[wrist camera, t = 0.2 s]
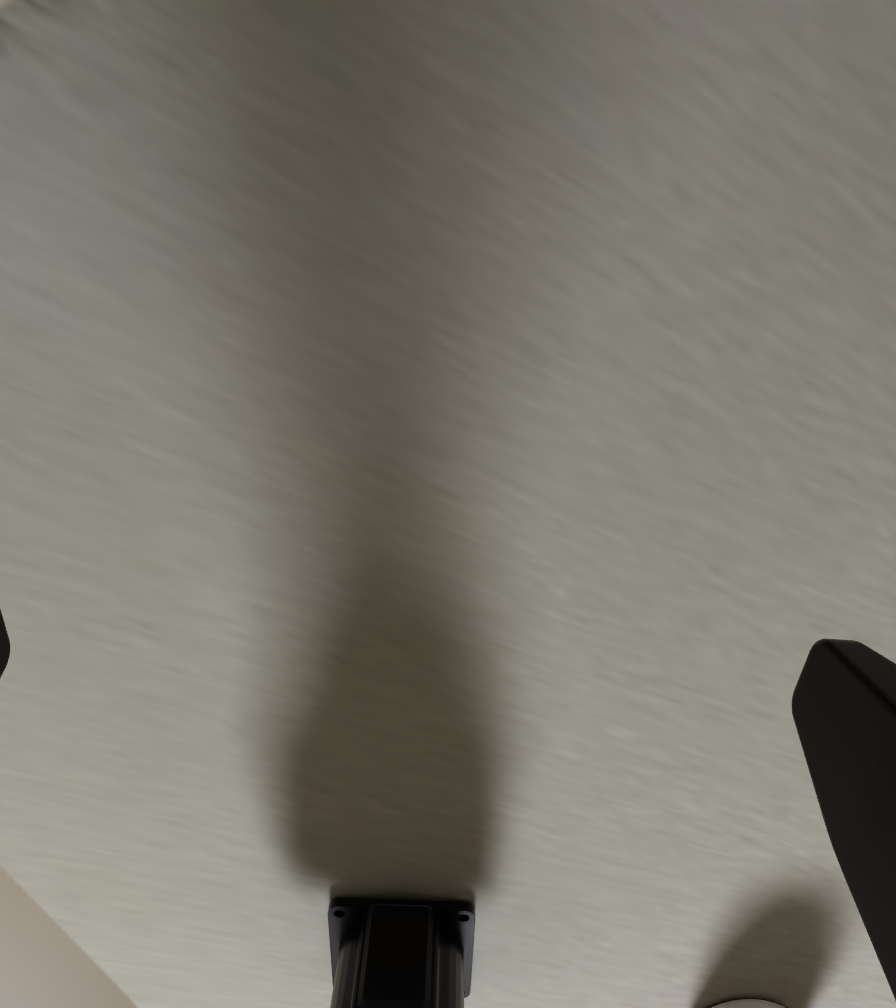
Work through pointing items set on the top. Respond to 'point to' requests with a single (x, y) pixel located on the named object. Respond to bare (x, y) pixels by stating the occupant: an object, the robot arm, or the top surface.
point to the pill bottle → (748, 1004)
